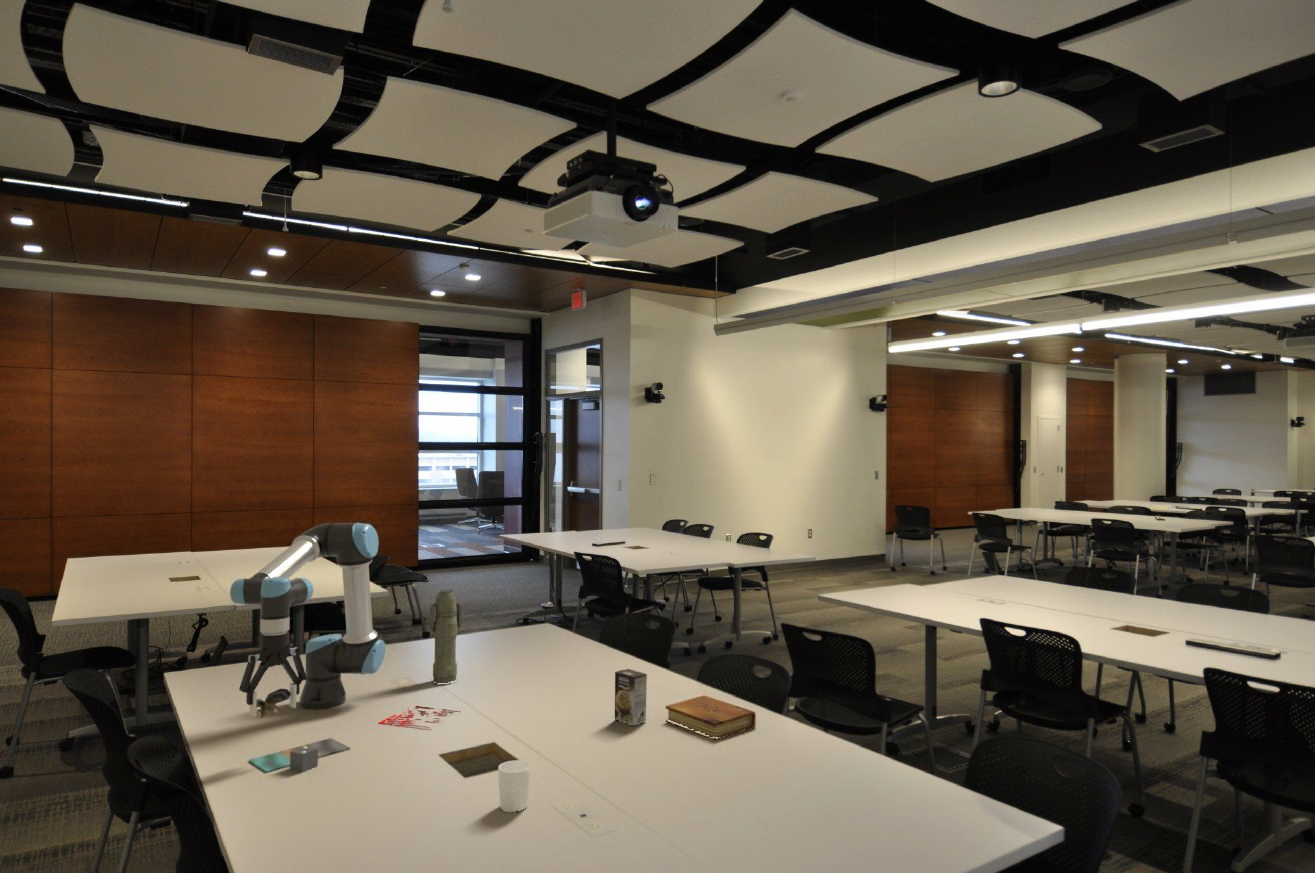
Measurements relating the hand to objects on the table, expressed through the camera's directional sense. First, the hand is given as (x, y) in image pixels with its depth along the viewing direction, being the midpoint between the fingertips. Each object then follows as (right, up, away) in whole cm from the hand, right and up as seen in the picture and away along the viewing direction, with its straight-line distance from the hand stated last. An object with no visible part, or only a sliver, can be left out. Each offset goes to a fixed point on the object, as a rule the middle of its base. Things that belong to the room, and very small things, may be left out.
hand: (273, 711), depth 224 cm
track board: (+5, -15, +6) cm, 17 cm away
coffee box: (+100, -17, +37) cm, 108 cm away
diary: (+126, -17, +35) cm, 132 cm away
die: (+10, -15, -4) cm, 18 cm away
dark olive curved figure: (-1, -1, 0) cm, 1 cm away
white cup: (+73, -14, -28) cm, 80 cm away
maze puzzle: (+31, -17, +40) cm, 53 cm away
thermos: (+27, -17, +82) cm, 88 cm away
